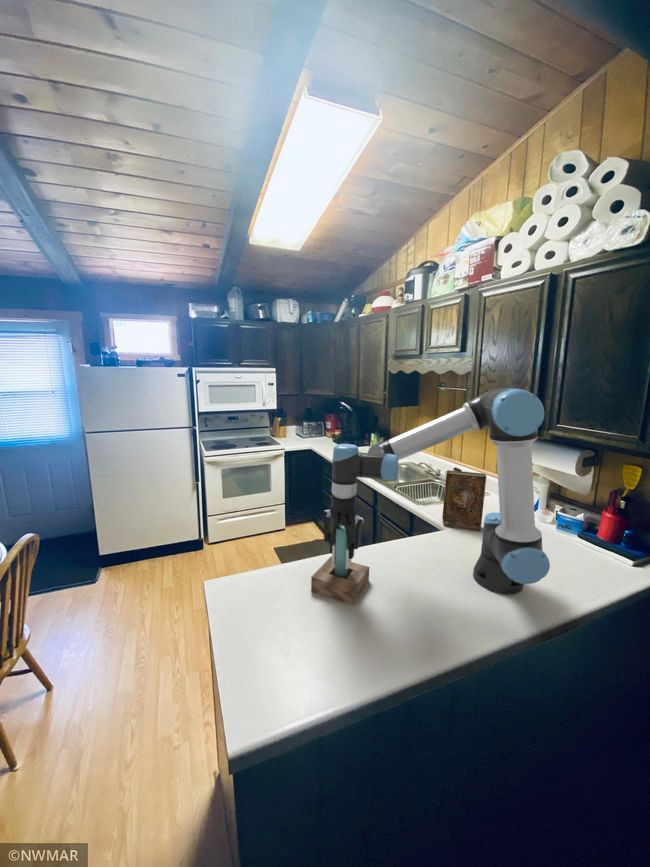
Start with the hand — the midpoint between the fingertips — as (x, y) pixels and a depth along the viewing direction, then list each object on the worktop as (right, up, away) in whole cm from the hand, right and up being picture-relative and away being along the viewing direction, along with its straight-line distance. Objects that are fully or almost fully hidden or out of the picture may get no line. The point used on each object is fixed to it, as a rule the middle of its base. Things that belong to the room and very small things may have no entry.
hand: (341, 564), depth 109 cm
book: (+57, -1, +48) cm, 74 cm away
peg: (0, -4, +1) cm, 4 cm away
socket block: (0, -7, +1) cm, 7 cm away
